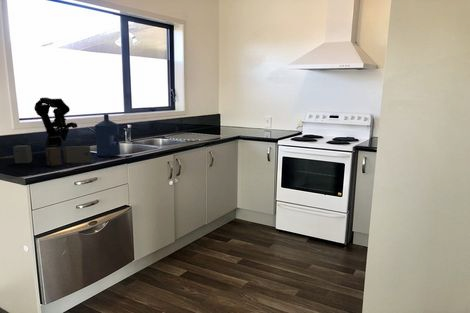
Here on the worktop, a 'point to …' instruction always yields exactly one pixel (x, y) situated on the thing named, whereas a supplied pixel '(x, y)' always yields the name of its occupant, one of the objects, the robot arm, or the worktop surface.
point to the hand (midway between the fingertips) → (64, 140)
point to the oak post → (53, 156)
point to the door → (76, 154)
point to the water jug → (107, 137)
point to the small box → (22, 154)
